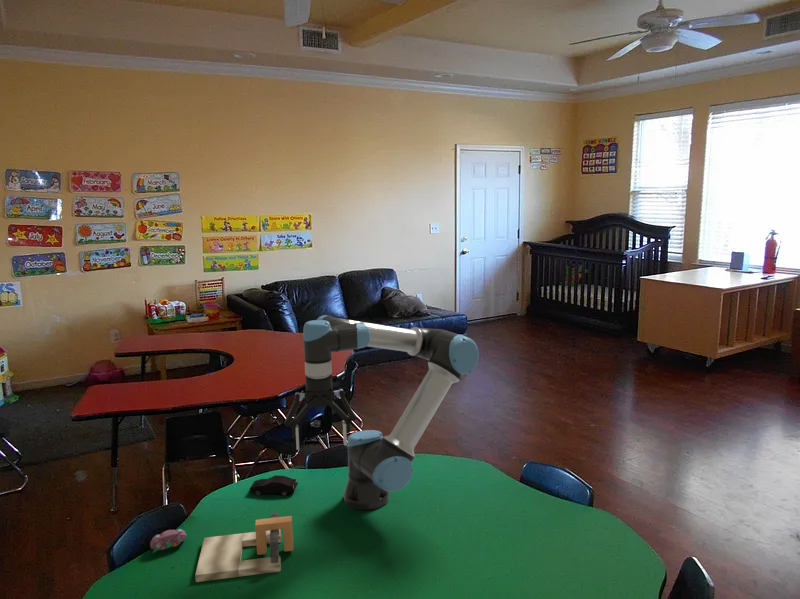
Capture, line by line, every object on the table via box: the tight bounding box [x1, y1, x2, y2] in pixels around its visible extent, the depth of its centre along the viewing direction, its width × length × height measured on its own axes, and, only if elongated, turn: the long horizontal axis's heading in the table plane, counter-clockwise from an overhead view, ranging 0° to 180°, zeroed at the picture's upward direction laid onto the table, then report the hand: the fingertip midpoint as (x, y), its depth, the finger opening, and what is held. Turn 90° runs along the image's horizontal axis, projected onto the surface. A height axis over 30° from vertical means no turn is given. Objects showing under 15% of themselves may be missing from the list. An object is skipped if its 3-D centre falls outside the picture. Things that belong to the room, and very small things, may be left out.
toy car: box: [249, 475, 299, 497], centre depth 204 cm, size 7×16×5 cm, turn 86°
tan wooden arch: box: [254, 515, 294, 556], centre depth 168 cm, size 10×3×9 cm, turn 101°
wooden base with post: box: [195, 512, 282, 583], centre depth 167 cm, size 22×18×8 cm
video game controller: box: [149, 528, 187, 551], centre depth 172 cm, size 10×5×7 cm, turn 119°
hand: (321, 445), depth 172 cm, fingers open, 13 cm apart
